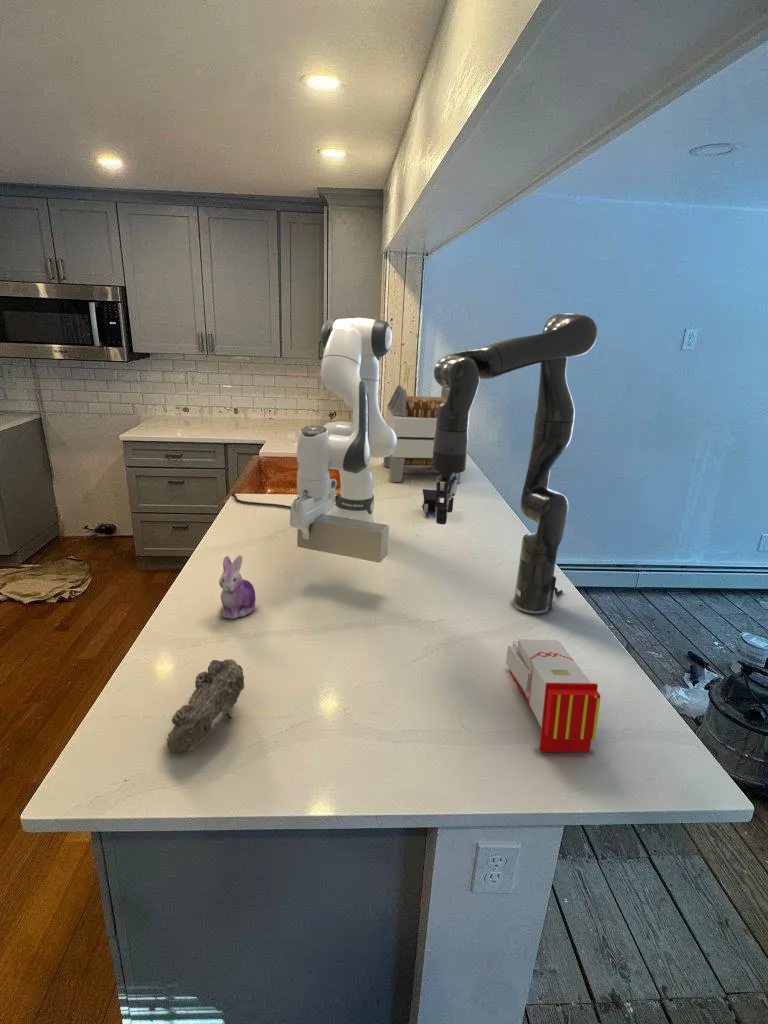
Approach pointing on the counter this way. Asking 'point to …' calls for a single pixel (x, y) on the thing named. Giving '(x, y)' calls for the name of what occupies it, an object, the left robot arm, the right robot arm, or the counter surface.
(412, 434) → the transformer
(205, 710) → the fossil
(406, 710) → the counter surface
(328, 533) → the box
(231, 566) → the figurine
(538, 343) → the right robot arm
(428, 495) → the figurine character
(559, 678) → the toy
